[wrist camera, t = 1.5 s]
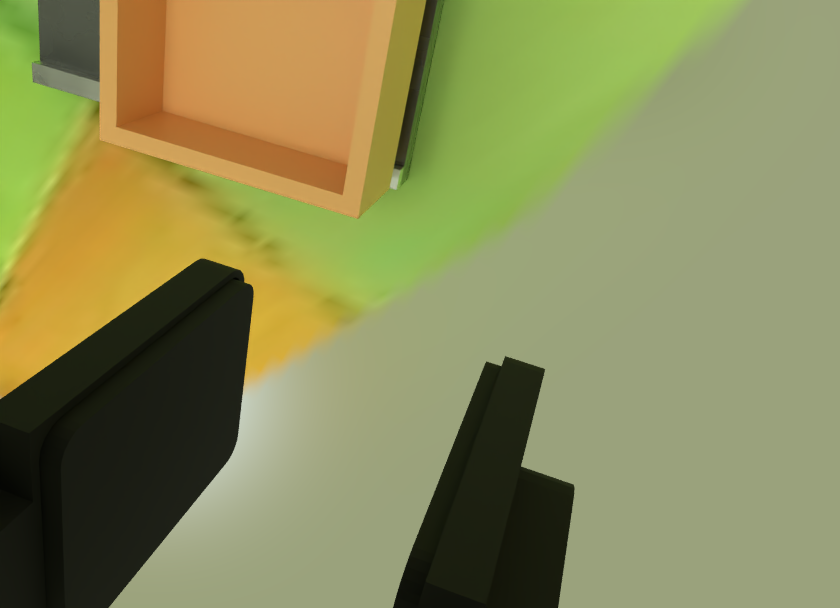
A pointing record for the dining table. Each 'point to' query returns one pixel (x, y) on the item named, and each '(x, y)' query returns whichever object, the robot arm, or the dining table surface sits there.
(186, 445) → the robot arm
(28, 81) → the dining table surface
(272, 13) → the orange open tray
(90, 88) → the grey flat slab
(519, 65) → the dining table surface
